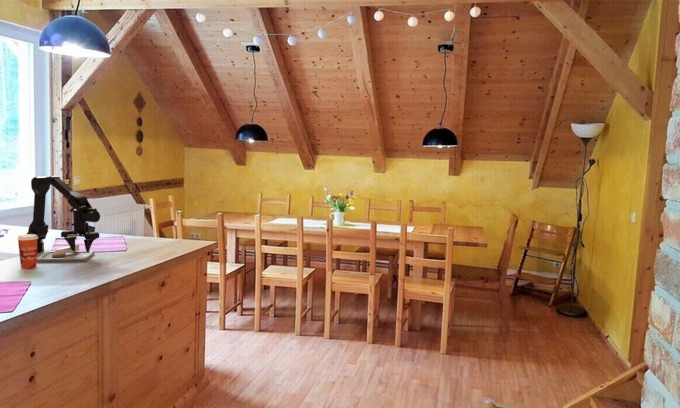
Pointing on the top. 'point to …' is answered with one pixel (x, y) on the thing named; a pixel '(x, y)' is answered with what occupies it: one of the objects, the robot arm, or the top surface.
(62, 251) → the long cream stick
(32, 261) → the coffee cup
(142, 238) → the top surface
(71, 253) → the board
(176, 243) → the top surface
